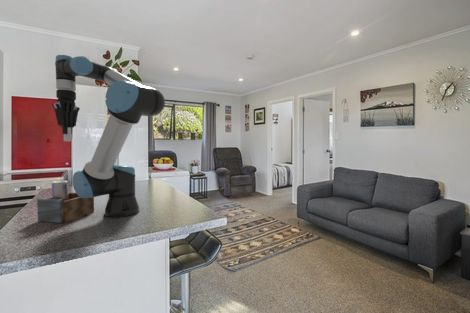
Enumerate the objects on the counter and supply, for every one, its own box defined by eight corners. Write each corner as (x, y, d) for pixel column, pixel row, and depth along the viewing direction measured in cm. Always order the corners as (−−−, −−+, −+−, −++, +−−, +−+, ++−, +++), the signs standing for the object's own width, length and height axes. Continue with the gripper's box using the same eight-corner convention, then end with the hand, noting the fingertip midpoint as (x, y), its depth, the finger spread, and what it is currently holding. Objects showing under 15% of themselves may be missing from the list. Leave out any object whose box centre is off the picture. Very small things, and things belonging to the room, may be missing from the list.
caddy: (65, 222, 102) (65, 201, 102) (40, 220, 105) (39, 199, 104) (94, 211, 118) (93, 193, 118) (71, 210, 120) (70, 192, 120)
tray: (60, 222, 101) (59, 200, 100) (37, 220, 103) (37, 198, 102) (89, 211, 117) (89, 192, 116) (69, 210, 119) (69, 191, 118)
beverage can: (49, 216, 105) (48, 182, 104) (61, 212, 111) (60, 180, 110) (60, 217, 104) (59, 182, 103) (72, 213, 110) (71, 180, 109)
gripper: (71, 93, 120) (72, 141, 121) (46, 87, 107) (47, 141, 108) (84, 93, 118) (85, 141, 120) (60, 87, 105) (62, 141, 107)
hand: (67, 141), depth 114 cm, fingers closed
